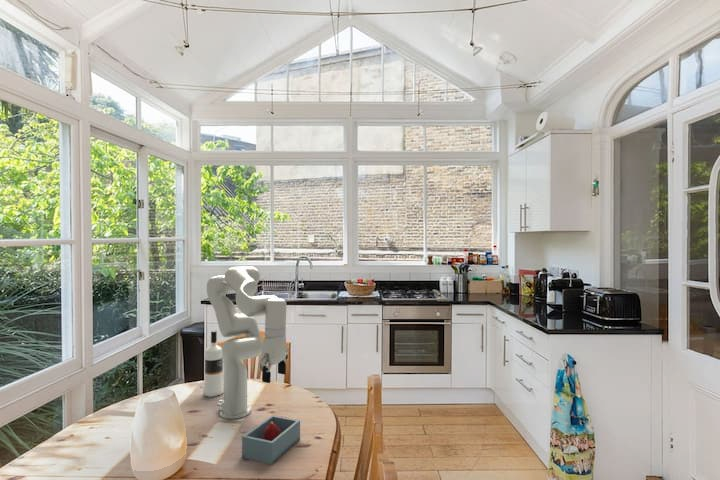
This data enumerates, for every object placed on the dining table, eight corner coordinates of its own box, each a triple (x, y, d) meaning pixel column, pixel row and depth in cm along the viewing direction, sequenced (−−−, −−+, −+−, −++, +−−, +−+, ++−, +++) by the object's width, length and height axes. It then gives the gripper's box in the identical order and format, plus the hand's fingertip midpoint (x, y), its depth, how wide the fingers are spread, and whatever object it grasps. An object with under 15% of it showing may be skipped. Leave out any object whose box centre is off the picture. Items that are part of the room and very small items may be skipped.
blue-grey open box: (242, 457, 134) (242, 436, 134) (272, 433, 151) (272, 415, 151) (272, 464, 130) (272, 443, 130) (300, 439, 147) (300, 420, 147)
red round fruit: (283, 442, 142) (283, 419, 143) (275, 449, 137) (275, 426, 137) (269, 440, 144) (269, 417, 145) (260, 447, 139) (260, 424, 139)
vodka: (204, 391, 194) (205, 329, 195) (224, 389, 197) (224, 328, 197) (201, 398, 185) (202, 333, 186) (222, 396, 188) (223, 332, 188)
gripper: (280, 326, 157) (279, 369, 157) (252, 336, 141) (251, 384, 141) (296, 328, 154) (295, 372, 154) (269, 338, 138) (268, 387, 138)
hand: (274, 377), depth 148 cm, fingers open, 9 cm apart
